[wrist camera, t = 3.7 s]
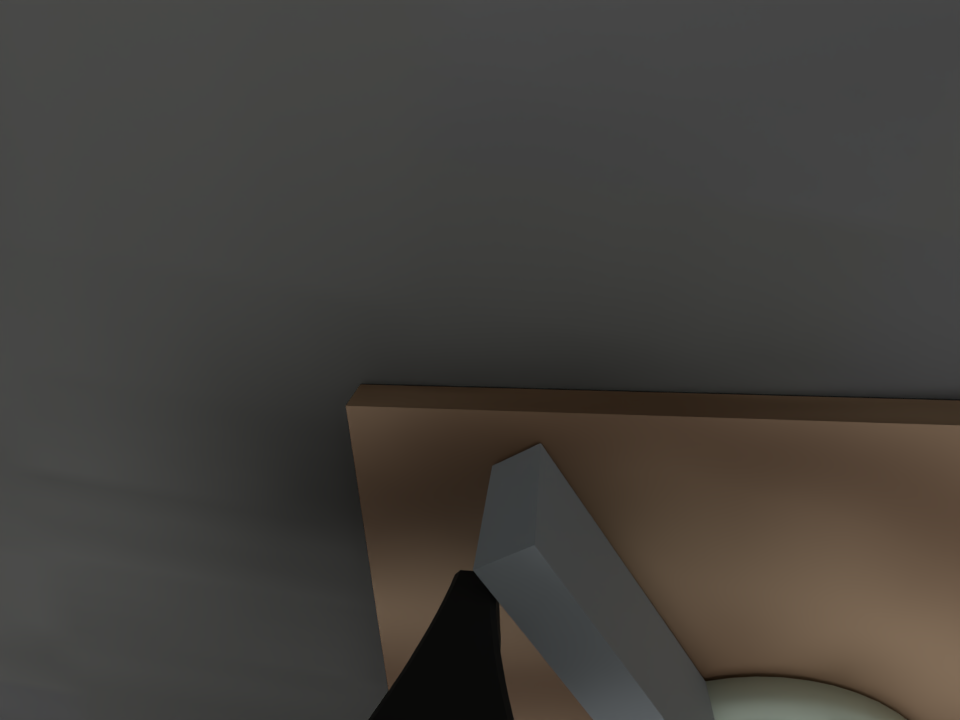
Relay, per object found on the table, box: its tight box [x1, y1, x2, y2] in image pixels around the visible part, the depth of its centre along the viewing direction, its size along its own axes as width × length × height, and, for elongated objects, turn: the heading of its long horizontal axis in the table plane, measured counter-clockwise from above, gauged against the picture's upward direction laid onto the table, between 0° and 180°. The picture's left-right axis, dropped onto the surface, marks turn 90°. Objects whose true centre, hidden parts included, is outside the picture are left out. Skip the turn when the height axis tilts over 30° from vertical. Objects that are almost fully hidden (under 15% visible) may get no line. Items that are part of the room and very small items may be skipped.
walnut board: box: [346, 384, 960, 720], centre depth 15 cm, size 18×20×1 cm
